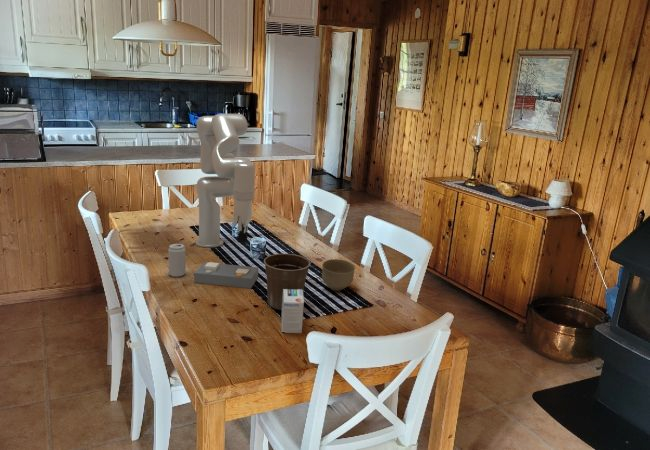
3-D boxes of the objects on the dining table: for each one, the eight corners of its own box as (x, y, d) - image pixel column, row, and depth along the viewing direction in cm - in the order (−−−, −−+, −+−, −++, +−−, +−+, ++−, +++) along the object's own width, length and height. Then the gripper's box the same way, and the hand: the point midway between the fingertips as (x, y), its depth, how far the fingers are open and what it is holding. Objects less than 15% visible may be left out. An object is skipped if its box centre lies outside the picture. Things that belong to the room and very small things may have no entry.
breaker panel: (204, 271, 212) (204, 260, 211) (258, 276, 210) (258, 266, 209) (194, 282, 201) (194, 271, 199) (250, 288, 199) (251, 277, 198)
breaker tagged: (238, 276, 207) (238, 268, 206) (248, 277, 207) (249, 269, 206) (234, 280, 203) (235, 272, 202) (246, 281, 202) (246, 273, 202)
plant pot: (316, 303, 190) (319, 261, 186) (289, 318, 177) (291, 273, 173) (281, 290, 199) (283, 250, 194) (252, 304, 186) (254, 261, 181)
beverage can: (189, 273, 209) (188, 245, 206) (178, 278, 203) (177, 249, 200) (176, 270, 211) (175, 242, 208) (165, 275, 206) (164, 246, 202)
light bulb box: (281, 318, 177) (282, 288, 174) (301, 318, 178) (302, 288, 175) (281, 333, 167) (282, 302, 164) (302, 333, 168) (304, 302, 165)
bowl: (325, 296, 196) (327, 271, 193) (317, 283, 208) (318, 259, 205) (357, 294, 200) (359, 270, 197) (347, 281, 211) (349, 258, 209)
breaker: (208, 269, 208) (208, 262, 207) (219, 270, 207) (219, 263, 206) (204, 273, 203) (204, 265, 203) (215, 274, 203) (215, 267, 202)
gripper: (239, 189, 203) (238, 235, 208) (228, 199, 189) (227, 247, 194) (258, 191, 202) (256, 237, 208) (248, 201, 188) (247, 249, 193)
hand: (242, 241), depth 201 cm, fingers closed
